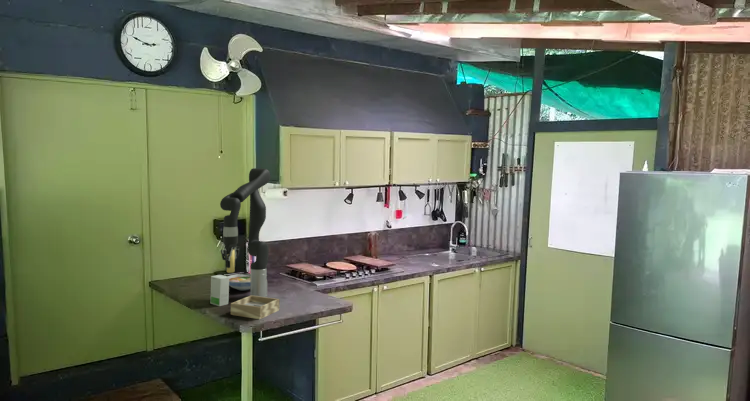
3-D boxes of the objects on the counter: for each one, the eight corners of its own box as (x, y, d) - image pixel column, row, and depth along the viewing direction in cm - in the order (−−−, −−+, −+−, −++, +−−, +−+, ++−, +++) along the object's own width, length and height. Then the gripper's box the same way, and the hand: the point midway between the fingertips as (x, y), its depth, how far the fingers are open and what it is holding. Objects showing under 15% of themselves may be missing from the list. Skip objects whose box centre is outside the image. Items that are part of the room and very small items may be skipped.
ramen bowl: (215, 290, 319) (215, 277, 318) (241, 283, 339) (241, 270, 338) (246, 296, 307) (246, 282, 306) (271, 288, 327) (271, 275, 327)
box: (251, 306, 286) (251, 295, 286) (279, 310, 280) (279, 299, 279) (230, 314, 270) (230, 303, 269) (260, 319, 263) (260, 307, 263)
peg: (230, 270, 281) (229, 248, 280) (236, 271, 279) (236, 249, 278) (225, 272, 277) (225, 249, 276) (231, 272, 276) (231, 250, 275)
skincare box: (210, 304, 289) (209, 276, 288) (219, 301, 295) (219, 274, 293) (220, 306, 284) (220, 278, 283) (229, 303, 290) (229, 276, 289)
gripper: (233, 232, 285) (233, 263, 286) (216, 236, 271) (216, 268, 273) (244, 233, 282) (244, 265, 283) (227, 237, 269) (228, 270, 270)
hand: (230, 266), depth 278 cm, fingers closed on peg, 4 cm apart
